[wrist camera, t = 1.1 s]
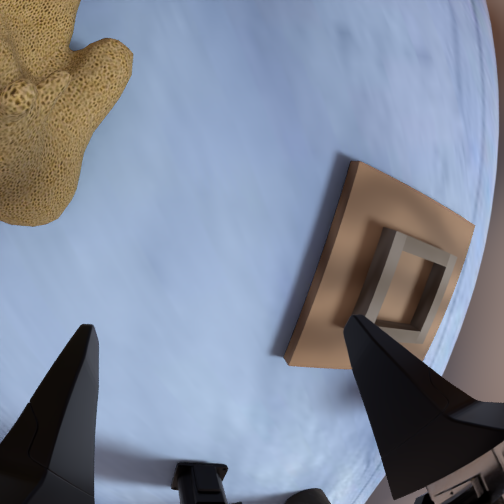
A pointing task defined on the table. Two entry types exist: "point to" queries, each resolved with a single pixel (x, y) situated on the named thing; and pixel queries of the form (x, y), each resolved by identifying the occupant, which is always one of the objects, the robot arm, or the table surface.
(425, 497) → the robot arm
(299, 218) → the table surface
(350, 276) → the brown flat square board
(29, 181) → the decorative coral
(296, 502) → the travel mug
